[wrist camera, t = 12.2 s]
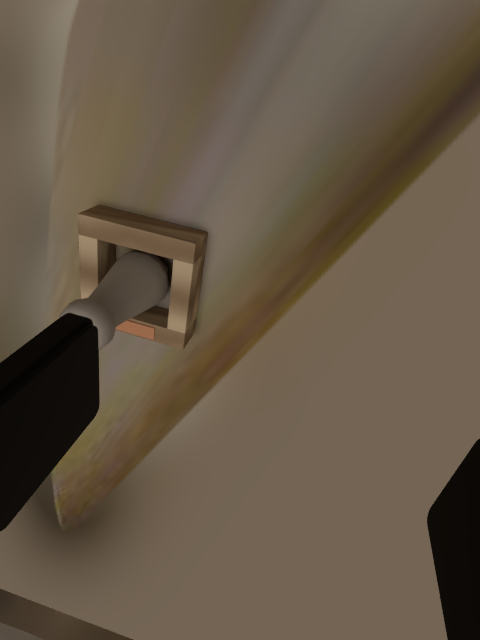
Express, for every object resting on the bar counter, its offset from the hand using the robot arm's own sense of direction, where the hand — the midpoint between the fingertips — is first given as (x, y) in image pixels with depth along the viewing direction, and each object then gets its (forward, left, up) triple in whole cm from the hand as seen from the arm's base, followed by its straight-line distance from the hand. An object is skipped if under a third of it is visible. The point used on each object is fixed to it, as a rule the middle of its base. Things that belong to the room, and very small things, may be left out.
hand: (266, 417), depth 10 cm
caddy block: (+12, -15, -28) cm, 34 cm away
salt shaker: (+12, -15, -28) cm, 35 cm away
